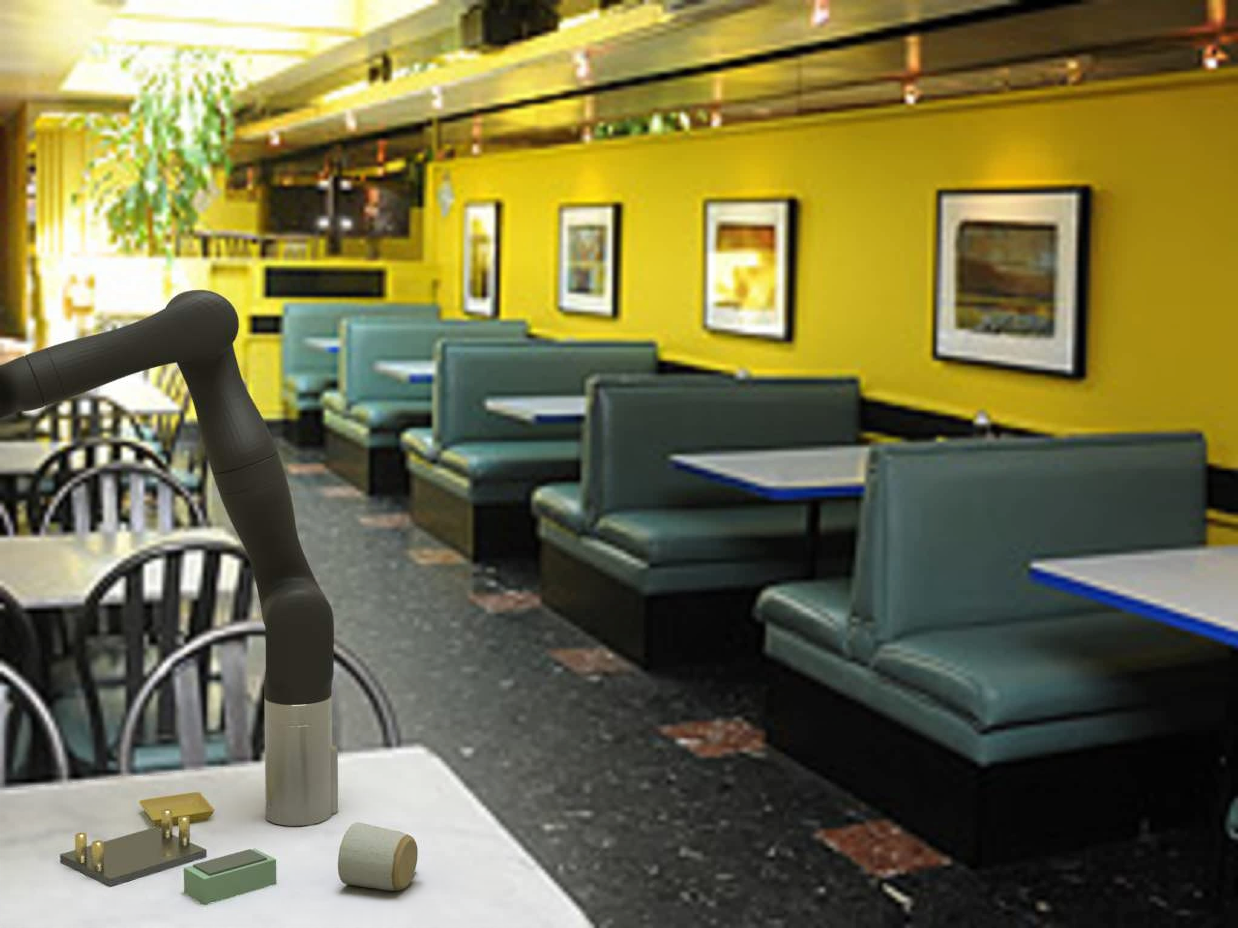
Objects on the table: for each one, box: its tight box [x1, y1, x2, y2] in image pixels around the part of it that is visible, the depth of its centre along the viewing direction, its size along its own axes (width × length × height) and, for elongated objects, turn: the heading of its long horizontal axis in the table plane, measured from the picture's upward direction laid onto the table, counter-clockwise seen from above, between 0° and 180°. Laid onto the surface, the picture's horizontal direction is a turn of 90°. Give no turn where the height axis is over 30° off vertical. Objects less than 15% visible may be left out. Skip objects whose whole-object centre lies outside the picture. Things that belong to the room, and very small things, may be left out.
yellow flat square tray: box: [138, 791, 215, 828], centre depth 226 cm, size 9×9×2 cm
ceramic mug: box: [337, 822, 419, 892], centre depth 203 cm, size 11×8×8 cm
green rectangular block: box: [183, 848, 277, 906], centre depth 200 cm, size 10×5×4 cm, turn 134°
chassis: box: [59, 809, 208, 887], centre depth 209 cm, size 14×12×4 cm
